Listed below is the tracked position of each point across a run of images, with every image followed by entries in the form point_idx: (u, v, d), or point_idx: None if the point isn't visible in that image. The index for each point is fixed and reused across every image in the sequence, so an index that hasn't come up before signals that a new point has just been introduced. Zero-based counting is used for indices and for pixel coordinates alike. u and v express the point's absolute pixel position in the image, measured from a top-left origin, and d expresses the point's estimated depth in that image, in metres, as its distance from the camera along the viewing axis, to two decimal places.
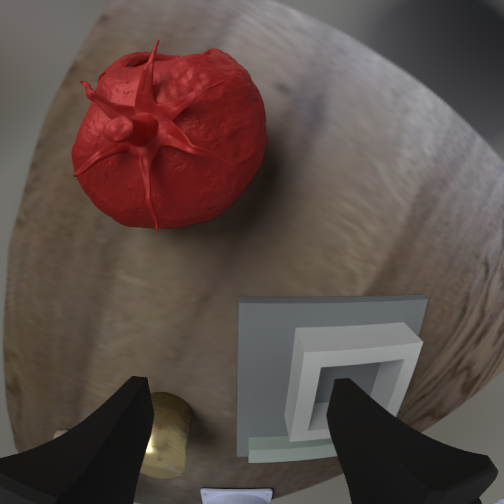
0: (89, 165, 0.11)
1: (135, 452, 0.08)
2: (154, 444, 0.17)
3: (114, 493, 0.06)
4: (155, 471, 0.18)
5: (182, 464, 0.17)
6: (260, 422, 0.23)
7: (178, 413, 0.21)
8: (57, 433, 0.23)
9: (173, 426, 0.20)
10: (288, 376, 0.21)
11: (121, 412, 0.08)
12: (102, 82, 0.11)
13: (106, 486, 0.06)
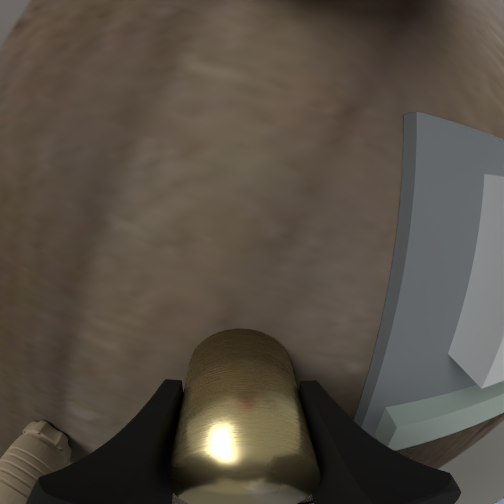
0: None
1: None
2: (260, 439, 0.07)
3: (158, 501, 0.06)
4: None
5: (317, 478, 0.07)
6: (413, 373, 0.12)
7: (282, 366, 0.11)
8: (29, 426, 0.13)
9: (285, 392, 0.09)
10: (469, 270, 0.11)
11: (163, 417, 0.08)
12: None
13: (153, 495, 0.06)
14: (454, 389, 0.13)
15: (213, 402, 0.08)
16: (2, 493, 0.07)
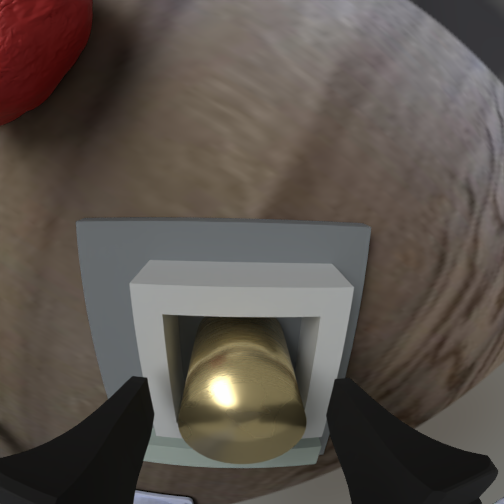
0: None
1: (135, 452, 0.08)
2: (256, 378, 0.09)
3: (114, 493, 0.06)
4: (238, 449, 0.10)
5: (304, 423, 0.09)
6: None
7: (276, 332, 0.13)
8: None
9: (277, 350, 0.11)
10: None
11: (121, 412, 0.08)
12: None
13: (106, 486, 0.06)
14: None
15: (218, 354, 0.10)
16: None
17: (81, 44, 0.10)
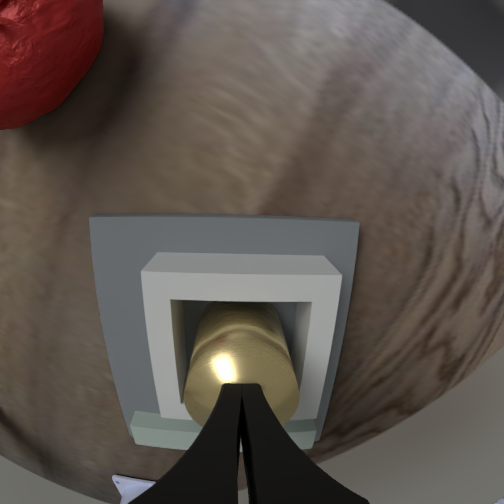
0: None
1: (238, 460, 0.08)
2: (255, 353, 0.10)
3: None
4: None
5: (298, 396, 0.11)
6: (143, 391, 0.18)
7: (272, 317, 0.14)
8: None
9: (273, 331, 0.13)
10: None
11: (236, 422, 0.08)
12: None
13: None
14: None
15: (220, 333, 0.12)
16: None
17: (94, 54, 0.11)
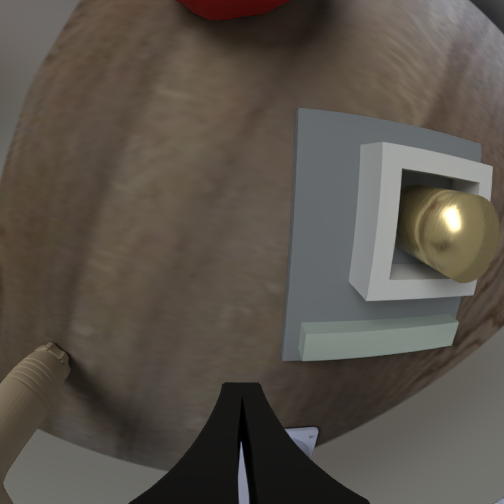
0: None
1: (238, 460, 0.08)
2: (480, 196, 0.12)
3: None
4: (467, 263, 0.12)
5: (498, 237, 0.12)
6: (318, 294, 0.19)
7: None
8: (40, 348, 0.20)
9: None
10: (354, 214, 0.18)
11: (237, 421, 0.08)
12: None
13: None
14: (365, 317, 0.20)
15: (445, 192, 0.13)
16: (12, 386, 0.14)
17: None
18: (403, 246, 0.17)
